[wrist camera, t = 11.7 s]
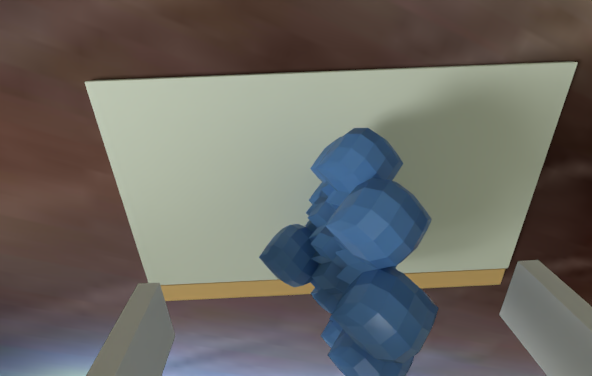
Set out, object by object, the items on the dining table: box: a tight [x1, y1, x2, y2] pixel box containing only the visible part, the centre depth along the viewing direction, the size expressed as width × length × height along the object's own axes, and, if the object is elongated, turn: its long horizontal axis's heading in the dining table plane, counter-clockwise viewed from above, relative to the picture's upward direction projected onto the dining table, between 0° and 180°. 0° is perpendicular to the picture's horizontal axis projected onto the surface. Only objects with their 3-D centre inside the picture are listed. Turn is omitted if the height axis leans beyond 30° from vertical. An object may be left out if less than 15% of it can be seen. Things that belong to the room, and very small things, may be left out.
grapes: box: [259, 128, 438, 376], centre depth 14 cm, size 12×7×12 cm, turn 3°
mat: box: [85, 61, 578, 285], centre depth 20 cm, size 26×14×1 cm, turn 92°
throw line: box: [161, 268, 505, 301], centre depth 24 cm, size 26×2×1 cm, turn 92°
